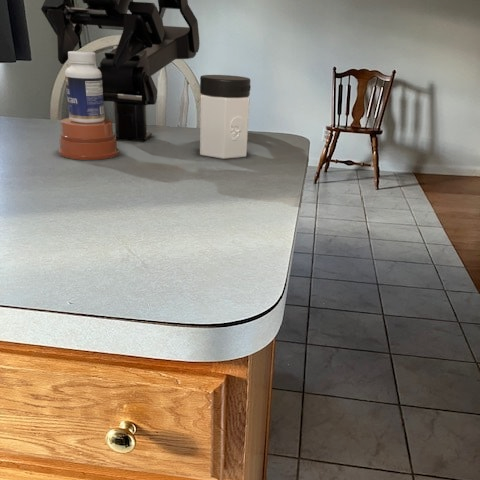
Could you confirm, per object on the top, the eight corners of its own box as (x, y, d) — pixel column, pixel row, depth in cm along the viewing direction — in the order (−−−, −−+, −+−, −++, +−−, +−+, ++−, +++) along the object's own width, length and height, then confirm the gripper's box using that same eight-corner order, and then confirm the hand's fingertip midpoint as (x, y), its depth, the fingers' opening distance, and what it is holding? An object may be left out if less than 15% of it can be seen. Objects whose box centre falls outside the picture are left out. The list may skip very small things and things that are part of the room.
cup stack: (71, 145, 92) (68, 114, 90) (125, 149, 92) (124, 118, 89) (49, 157, 84) (45, 123, 81) (109, 161, 83) (107, 128, 81)
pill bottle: (62, 119, 85) (55, 50, 80) (91, 117, 89) (86, 50, 84) (82, 125, 82) (76, 53, 77) (111, 121, 86) (107, 53, 81)
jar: (212, 160, 88) (214, 80, 82) (188, 150, 93) (188, 74, 88) (257, 156, 92) (262, 79, 86) (232, 147, 98) (235, 74, 92)
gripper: (40, -66, 81) (4, 17, 77) (155, -63, 77) (124, 25, 73) (73, -2, 92) (43, 74, 88) (176, 3, 88) (150, 83, 84)
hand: (87, 64), depth 83 cm, fingers open, 9 cm apart
